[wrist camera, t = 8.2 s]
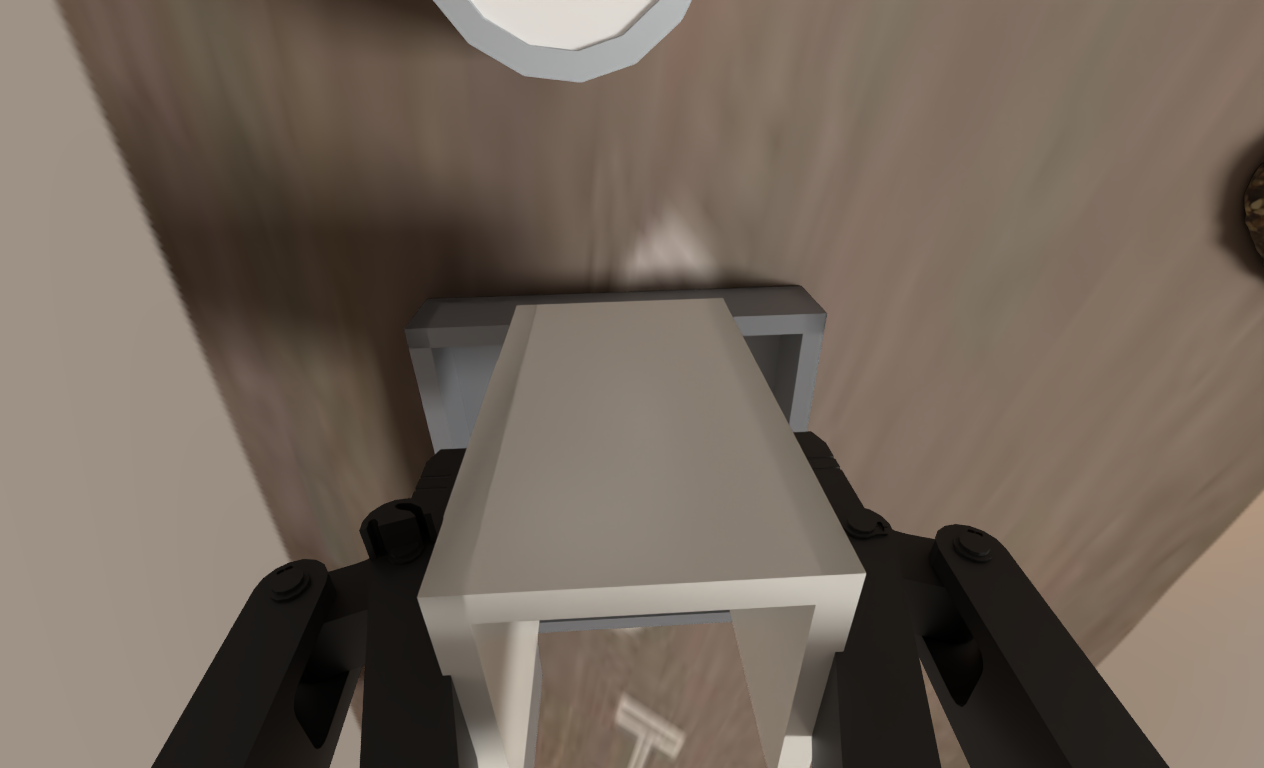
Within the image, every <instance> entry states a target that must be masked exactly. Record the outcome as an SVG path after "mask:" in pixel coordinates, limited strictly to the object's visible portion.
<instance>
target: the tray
mask: <svg viewBox="0 0 1264 768" xmlns="http://www.w3.org/2000/svg"><path fill="white" fill-rule="evenodd" d="M708 298H723V299H724V301H725V303H726V305H727V307H728V309H729V311H730V313H731V315H732V317H733V319H734V320H735V322H736V324H737V326H738V328H739V330H740V332H741V334H742V336H743V338H744V340H745V342H746V343H747V345H748V347H749V349H750V351H751V353H752V355H753V357H754V359H755V361H756V363H757V365H758V366H759V368H760V370H761V372H762V374H763V376H764V378H765V380H766V382H767V384H768V386H769V388H770V389H771V391H772V393H773V395H774V397H775V399H776V401H777V403H778V405H779V407H780V409H781V411H782V412H783V414H784V416H785V418H786V420H787V422H788V424H789V426H790V428H791V430H792V432H807V427H808V421H809V416H810V410H811V404H812V398H813V392H814V387H815V381H816V375H817V369H818V364H819V358H820V352H821V346H822V341H823V335H824V329H825V323H826V317H827V313H826V312H825V310H824V309H823V308H822V307H821V306H820V305H819V304H818V303H817V302H816V301H815V300H814V299H813V298H812V297H811V295H810V294H809V293H808V292H807V291H806V290H805V289H804V288H803V287H802V286H782V287H754V288H725V289H697V290H668V291H640V292H612V293H583V294H555V295H526V296H498V297H469V298H441V299H426V301H425V302H424V303H423V305H422V306H421V307H420V308H419V310H418V311H417V312H416V314H415V315H414V316H413V318H412V319H411V320H410V322H409V323H408V324H407V326H406V327H405V328H404V331H405V335H406V339H407V343H408V347H409V351H410V355H411V360H412V364H413V368H414V372H415V376H416V380H417V384H418V388H419V392H420V396H421V400H422V404H423V408H424V412H425V416H426V420H427V424H428V428H429V432H430V436H431V440H432V444H433V448H434V452H435V454H436V453H437V452H438V451H439V450H440V449H458V448H467V446H468V443H469V440H470V438H471V435H472V432H473V429H474V426H475V423H476V420H477V417H478V414H479V411H480V408H481V406H482V403H483V400H484V397H485V394H486V391H487V388H488V385H489V382H490V379H491V376H492V374H493V371H494V368H495V365H496V362H497V361H498V359H499V356H500V353H501V350H502V347H503V344H504V341H505V338H506V335H507V333H508V330H509V327H510V324H511V321H512V318H513V315H514V312H515V309H516V306H517V305H542V304H570V303H597V302H625V301H653V300H681V299H708ZM721 622H732V618H731V614H730V610H714V611H696V612H678V613H660V614H643V615H625V616H607V617H589V618H571V619H553V620H539V629H538V633H545V632H562V631H580V630H597V629H615V628H633V627H650V626H668V625H685V624H703V623H721Z"/></svg>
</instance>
